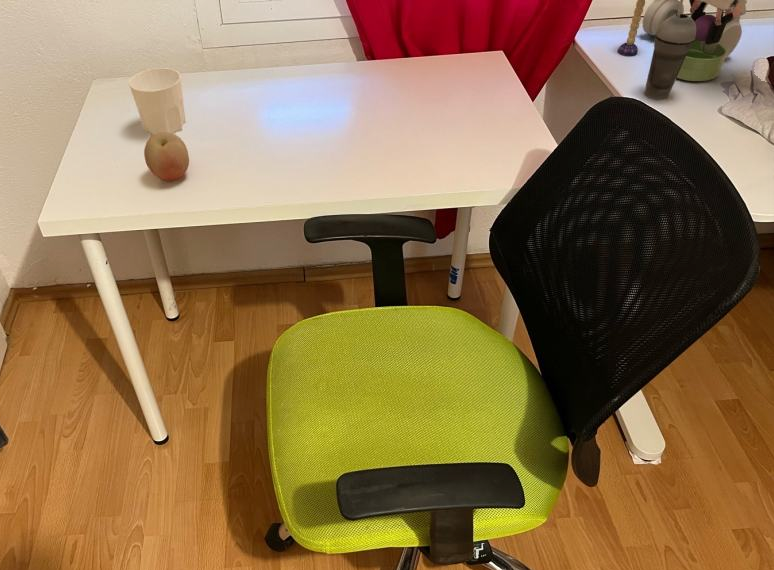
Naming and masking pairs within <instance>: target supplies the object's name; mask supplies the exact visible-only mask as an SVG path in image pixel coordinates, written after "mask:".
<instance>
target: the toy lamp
mask: <svg viewBox="0 0 774 570" xmlns="http://www.w3.org/2000/svg"><path fill="white" fill-rule="evenodd" d="M645 5H646V0H637V1H636V4H635V8H634V11H633V16H632V17H631V23H630V26H629V31H628V33H627V34H628V35H627V36H628V37H627V38H626V42H624V43H622V44H621V45H620V46H619V47H618V48H617V53H618V54H619V55H622V56H628V57H629V56H630V57H631V56H635V55H638V53H639V49H638V46H637V44H635V42H636V37H637V35H638V29H639V27H640V22H641V20H642V14H643V12H644V7H645Z"/></svg>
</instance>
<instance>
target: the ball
mask: <svg viewBox="0 0 774 570" xmlns="http://www.w3.org/2000/svg"><path fill="white" fill-rule="evenodd" d="M715 20H716V15H713V14H705V15H703V16H701V17H699V18H698V19H696V20H695V24H696V36H695V39H696V40H698V41H706V38H707V36H708V33H709V30H710V27H711V25H712V24H715Z"/></svg>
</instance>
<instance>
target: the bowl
mask: <svg viewBox="0 0 774 570" xmlns="http://www.w3.org/2000/svg"><path fill="white" fill-rule="evenodd" d="M726 55H727V49H726V48H725V47H724V46H723V45H722V44H718V46H717V49H716V51H715V54H714V55H710V54H707V53H705V52H704V49H703V50H701V49H700V41H698V40H696V39H695V41H694V42H693V45H692V46H691V48H690V50H689V51H688V53H687V55H686V57H685V60H684V62H683V64H682V66H681V69H680V71H679V73H678V75H677V78H676V79H679V80H683V81H689V82H705V81H706V82H707V81H711V80H714V79H715V78H717V77H719V75H720V73H721V70H722V67H723V65H724V62H725V60H726V58H727V57H726ZM725 57H726V58H725Z"/></svg>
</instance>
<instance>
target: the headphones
mask: <svg viewBox="0 0 774 570" xmlns="http://www.w3.org/2000/svg"><path fill="white" fill-rule="evenodd" d="M747 3H748V0H746V2H745V5H746V4H747ZM679 5H680V0H653V1H652V2H651V3H650V4H649V6H648V7H647V9H646V10H645V12H644V15H643V18H642V29H643V31H644V33H646V34H647V35H650V36H655V34H656V32H657V30H658V28H659V26H660V25H661V24H662V23H663V21H665V20H666V19H667V18H668V17H670V16H672V15H675V14H678V9H679ZM734 10H735V6H734V5H733V11H734ZM684 11H685V6H684V3H683V4H682V9H681V13H680V14H685V13H684ZM733 11H732V12H733ZM740 19H741V16H739V17H737V18H735V19H734V20H732V21H730V23H727V24H726V26H725V29H724V31H723V34H722V37H721V39H720V41H719V42H718V43H714V44H710V45H707V44H705V41H700V49H701V50H703V49H704V52H705V53H707V54H710V55H714V54H715V51H716V49H717V46H718V44H722V45H723V46H724V47H725V48H726V49H727V55H726V57H725V59H726V58H728V57H729V56H730V55H731V54H732V53H733V52H734V50H735V49H736V47H738V44H739V42H740V40H741V37H742V33H743V30H742V25H741V22H740Z"/></svg>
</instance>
